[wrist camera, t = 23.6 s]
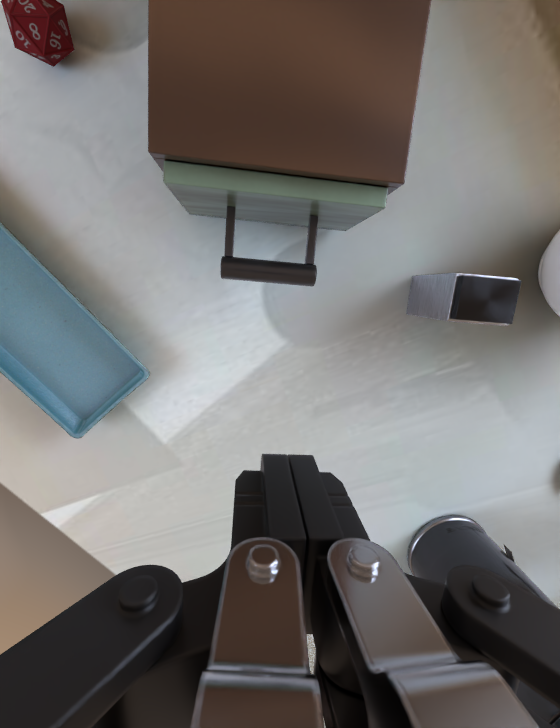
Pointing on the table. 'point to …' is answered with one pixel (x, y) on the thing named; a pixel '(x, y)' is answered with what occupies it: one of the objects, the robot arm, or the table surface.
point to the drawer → (271, 210)
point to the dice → (39, 28)
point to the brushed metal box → (464, 298)
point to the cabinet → (286, 85)
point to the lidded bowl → (551, 274)
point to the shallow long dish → (58, 345)
